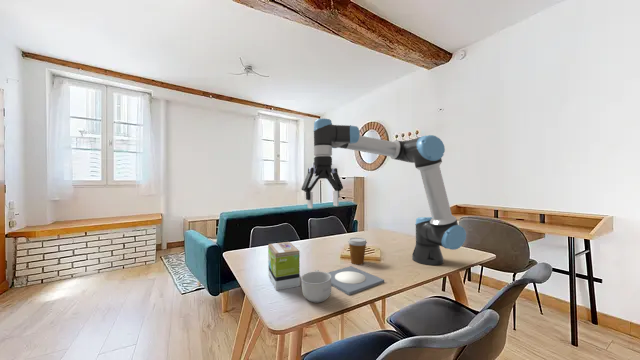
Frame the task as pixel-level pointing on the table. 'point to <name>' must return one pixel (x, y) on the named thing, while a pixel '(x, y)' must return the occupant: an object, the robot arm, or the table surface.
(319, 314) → the table surface
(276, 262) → the tea box
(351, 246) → the disposable coffee cup
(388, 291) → the table surface
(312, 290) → the teacup
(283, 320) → the table surface
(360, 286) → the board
